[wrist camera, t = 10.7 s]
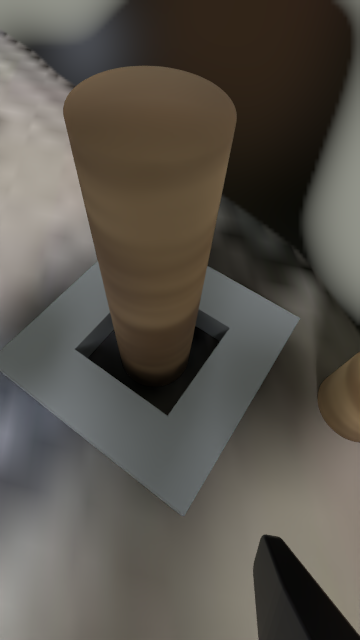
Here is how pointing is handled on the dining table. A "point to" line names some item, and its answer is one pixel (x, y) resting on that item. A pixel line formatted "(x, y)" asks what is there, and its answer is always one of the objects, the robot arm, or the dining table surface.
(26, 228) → the dining table surface
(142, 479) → the hole plate
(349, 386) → the short pin
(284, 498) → the dining table surface
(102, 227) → the tall pin
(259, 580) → the robot arm
